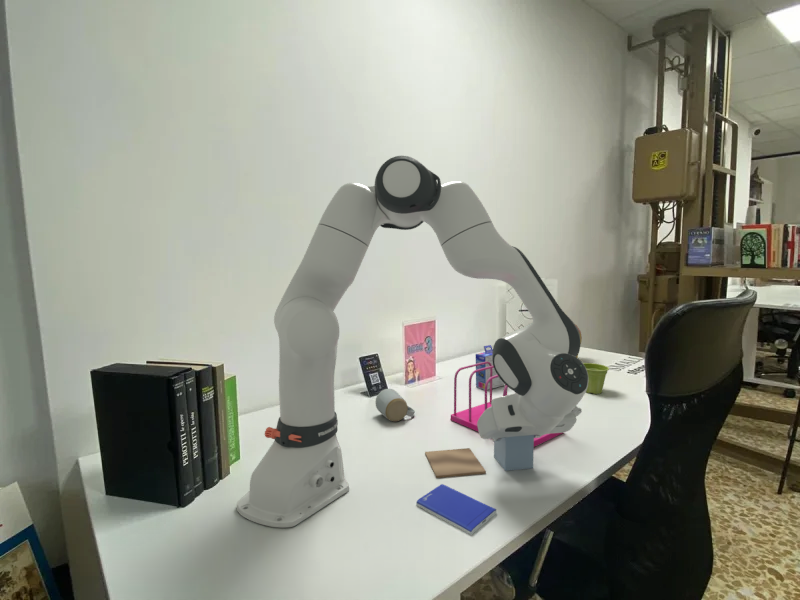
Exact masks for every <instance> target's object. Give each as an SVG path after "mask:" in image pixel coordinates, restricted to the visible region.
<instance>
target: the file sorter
mask: <svg viewBox="0 0 800 600" xmlns="http://www.w3.org/2000/svg"><path fill="white" fill-rule="evenodd" d="M482 364H489V365H490V366H489V367H485V368H481V369H478V370H476V369H475V370H473V371H471V373H470V375H469V379H468V408H467V409H464V410H461V411H458V412H457V382H458V381H457V380H458V379H457V378H458V375H459V373H460V371H462V370H465V369H469V368H473V367H476V366H478V365H482ZM492 368H494V366H492V365H491V363H490V362H482V363H477V364H476V363H475V364H469V365H466V366H463V367H459V368H458V369H457V370H456V371H455V372H454V373H455V374H454V382H453V393H454V394H453V413H451V414H450V421H452V422H455V423H457V424H459V425H460V426H461V425H462V426H464V427H466V428H469V429H471V430H474V431H476V432H478V433H479V431H478V426H477V422H478V420H479V418H480V416H481V415H482V414H483V412H484V411H485V410H486V409H487V408H489V407H491V406H492V405H491V401H492V400H493V388H492V379H494V378H497V377H499V376H498V375H495V376H492ZM486 369H490V378H489V379H488V380H487V382H486V384H485V390H484V403H481V404H479V405H475V406H472V378H473V377H474V375H475V374H476V372H479V371H483V370H486ZM489 382H490V389H489V401H488V390H487V386H488V383H489ZM508 388H509V387H508V386H507V385H506V384H505V385H504V389H503V391H502V396H506V395H508ZM564 433H565V432H563V433H551V434H545V435H542V436H541V437H540V438H534V448H536V447H538V446H539V445H541V444H543V443H545V442H547V441H549V440H552V439H554V438H556V437H558V436H560V435H562V434H564Z"/></svg>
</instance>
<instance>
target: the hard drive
mask: <svg viewBox="0 0 800 600" xmlns="http://www.w3.org/2000/svg"><path fill="white" fill-rule="evenodd" d="M415 504H416V506H417V507H419V508H420V509H422V510H424V511H426V512H428V513H430V514H432V515H433V516H436V517H437V518H439V519H440V520H442V521H445V522H447V523H448V524H450V525H452V526H455V527H456V528H457V529H459V530H462V531H463V532H465V533H466V534H468V535H472V536H473V534H474V533H475V532H476V531H478V530H479V529H480V528H481V527H482V526H483V525H484V524H486V523H487V522H488V521H490V519H492V517H493V516H495V515H496V514H497V509H496V508H494V507H492V506H490V505H488V504H486V503H483V502H482V501H479V500H477V499H475V498H473V497H471V496H469V495H466V494H464V493H463V492H460V491H458V490H457V489H455V488H452V487H450V486H448V485H445V484H443V483H441V484H440V485H438V486H437V487H435V488H433V489H432V490H430V491H429V492H427V493H426V494H424V495H423V496H421V497H420V498H418V499H417V500H416V503H415Z"/></svg>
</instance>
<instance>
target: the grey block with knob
mask: <svg viewBox="0 0 800 600" xmlns="http://www.w3.org/2000/svg"><path fill="white" fill-rule="evenodd" d="M534 448H535V447H534V435H527V436H515V437H503V438H502V439H501V440H500V441H495V442H494V443H493V457H494V458H495V460H496V462H498V464H499V465H500V467H501V468H502V469H503V470H504V472H508V471H517V470H527V469H529V470H530V469H534V452H535V451H534V450H535V449H534Z"/></svg>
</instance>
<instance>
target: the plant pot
mask: <svg viewBox="0 0 800 600" xmlns="http://www.w3.org/2000/svg"><path fill="white" fill-rule="evenodd" d="M582 363H583V364H584V366H585V367H586V370H587V372H588V387H587V390H586V392H585V393H587V394H590V393H591V394H595V395H599V394H602V393H603V390H604V385H605V380H606V376H607V374H608V371H609V370H610V367H608V365H607V366H606V365H604V364H599V363H593V362H592V363H591V362H582Z"/></svg>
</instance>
